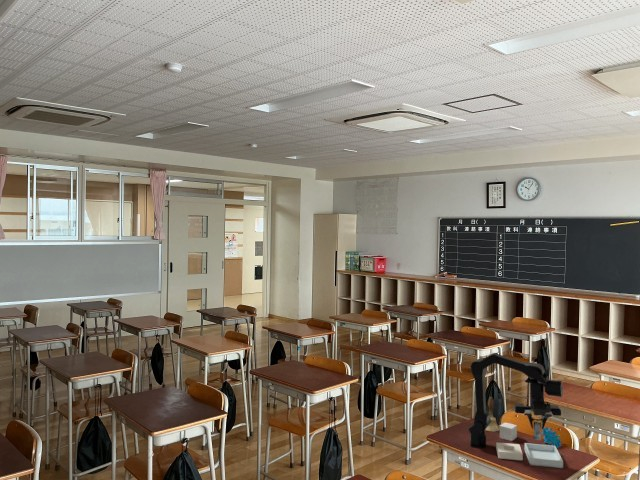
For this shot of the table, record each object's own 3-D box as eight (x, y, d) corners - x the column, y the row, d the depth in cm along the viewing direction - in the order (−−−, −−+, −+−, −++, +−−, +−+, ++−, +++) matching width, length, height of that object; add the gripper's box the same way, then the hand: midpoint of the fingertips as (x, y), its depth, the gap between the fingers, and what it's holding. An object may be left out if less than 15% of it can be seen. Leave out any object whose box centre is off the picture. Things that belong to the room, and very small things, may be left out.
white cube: (511, 441, 248) (511, 428, 248) (499, 438, 252) (499, 425, 252) (516, 437, 253) (516, 425, 252) (504, 434, 257) (504, 422, 257)
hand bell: (479, 429, 263) (480, 397, 263) (486, 424, 270) (486, 393, 269) (496, 433, 258) (496, 401, 258) (502, 428, 264) (502, 396, 264)
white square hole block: (498, 458, 230) (498, 451, 230) (496, 448, 239) (496, 442, 239) (522, 460, 227) (522, 453, 227) (519, 450, 237) (519, 444, 237)
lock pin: (532, 440, 228) (532, 419, 228) (531, 436, 232) (530, 416, 232) (543, 441, 227) (543, 420, 227) (541, 437, 231) (541, 417, 231)
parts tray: (530, 465, 223) (530, 458, 223) (524, 449, 239) (524, 443, 238) (563, 468, 220) (563, 461, 220) (555, 452, 236) (555, 445, 236)
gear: (551, 447, 237) (540, 426, 243) (542, 453, 240) (531, 432, 247) (567, 446, 242) (556, 425, 249) (559, 451, 246) (547, 431, 252)
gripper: (516, 397, 224) (517, 434, 224) (563, 400, 219) (564, 437, 220) (513, 390, 235) (513, 424, 235) (558, 392, 230) (558, 427, 230)
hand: (537, 428), depth 230 cm, fingers closed on lock pin, 4 cm apart
